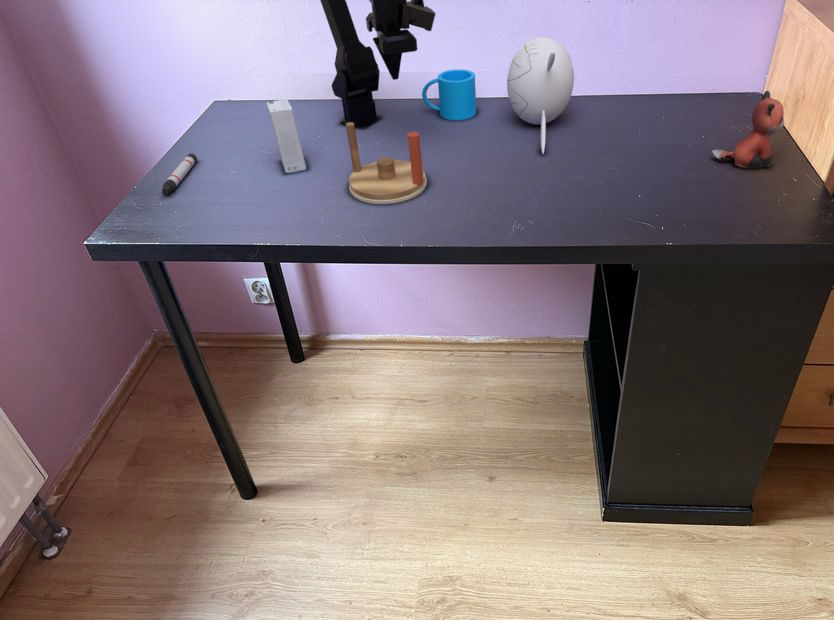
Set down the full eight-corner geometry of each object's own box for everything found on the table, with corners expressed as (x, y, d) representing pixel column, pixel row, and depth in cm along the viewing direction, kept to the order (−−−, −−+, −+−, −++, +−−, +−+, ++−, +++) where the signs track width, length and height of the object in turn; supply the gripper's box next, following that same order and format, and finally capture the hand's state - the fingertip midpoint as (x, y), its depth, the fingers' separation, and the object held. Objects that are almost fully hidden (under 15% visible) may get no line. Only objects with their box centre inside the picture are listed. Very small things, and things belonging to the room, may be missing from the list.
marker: (189, 162, 133) (186, 153, 132) (198, 162, 133) (195, 153, 132) (159, 199, 122) (155, 189, 121) (169, 198, 122) (166, 189, 121)
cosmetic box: (307, 170, 129) (294, 108, 121) (284, 174, 128) (269, 112, 120) (302, 157, 133) (289, 97, 125) (280, 161, 132) (265, 101, 124)
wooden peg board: (343, 172, 125) (334, 121, 119) (413, 159, 129) (408, 108, 122) (358, 205, 115) (350, 151, 109) (435, 190, 118) (430, 136, 112)
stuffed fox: (706, 153, 127) (719, 90, 119) (765, 152, 127) (782, 88, 119) (716, 171, 121) (730, 106, 114) (778, 169, 121) (797, 104, 113)
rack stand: (333, 194, 121) (333, 191, 120) (378, 162, 130) (378, 159, 129) (399, 210, 115) (398, 207, 115) (441, 176, 124) (441, 173, 124)
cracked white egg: (509, 29, 140) (511, 48, 119) (574, 32, 140) (587, 52, 119) (503, 120, 150) (503, 153, 129) (563, 123, 150) (573, 157, 129)
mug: (478, 106, 150) (477, 69, 145) (473, 120, 144) (472, 82, 139) (426, 105, 152) (423, 69, 146) (420, 119, 146) (416, 82, 140)
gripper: (442, -4, 113) (447, 89, 123) (417, -26, 126) (424, 59, 136) (378, 3, 110) (389, 97, 121) (360, -20, 124) (371, 66, 134)
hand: (395, 78), depth 128 cm, fingers closed
